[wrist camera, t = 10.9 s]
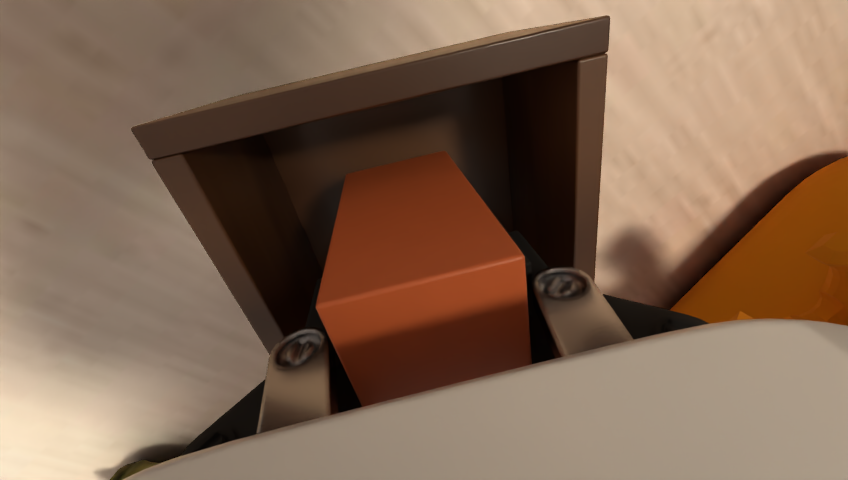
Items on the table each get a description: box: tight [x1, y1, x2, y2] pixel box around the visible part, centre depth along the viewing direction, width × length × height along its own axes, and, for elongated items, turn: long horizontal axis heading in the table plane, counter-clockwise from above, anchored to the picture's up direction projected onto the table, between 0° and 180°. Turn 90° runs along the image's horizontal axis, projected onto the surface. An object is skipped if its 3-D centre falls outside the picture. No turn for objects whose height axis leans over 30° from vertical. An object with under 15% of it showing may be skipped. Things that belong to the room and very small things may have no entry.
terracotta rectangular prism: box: [316, 151, 532, 407], centre depth 10 cm, size 6×4×7 cm, turn 12°
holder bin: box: [131, 16, 610, 355], centre depth 14 cm, size 12×12×7 cm
